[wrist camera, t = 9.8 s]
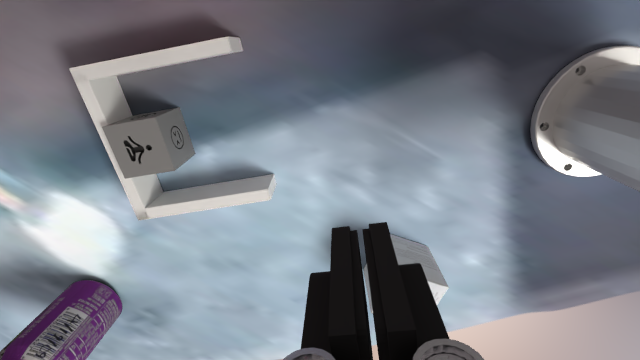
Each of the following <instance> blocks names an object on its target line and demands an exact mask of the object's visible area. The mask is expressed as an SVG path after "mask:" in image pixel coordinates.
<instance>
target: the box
mask: <svg viewBox="0 0 640 360" xmlns="http://www.w3.org/2000/svg"><path fill="white" fill-rule="evenodd" d="M242 51H243V48H242V44H241V40H240V38H239V37H228V36H227V37H222V38H217V39H212V40H207V41H202V42H197V43H192V44H188V45H183V46H178V47H173V48H168V49H163V50H158V51H153V52H148V53H143V54H138V55H133V56H128V57H123V58H118V59H113V60H108V61H103V62H98V63H93V64H88V65H83V66H78V67H73V68H69V70H70V72H71V74H72V76H73V78H74V81H75V83H76V85H77V87H78V89H79V91H80V94H81V96H82V98H83V100H84V102H85V105H86V107H87V109H88V111H89V113H90V116H91V118H92V120H93V122H94V124H95V126H96V129H97V131H98V133H99V135H100V137H101V140H102V142H103V144H104V146H105V148H106V151H107V153H108V155H109V157H110V159H111V162H112V164H113V166H114V168H115V170H116V172H117V175H118V177H119V179H120V181H121V183H122V186H123V188H124V190H125V192H126V194H127V197H128V199H129V201H130V203H131V205H132V208H133V210H134V212H135V214H136V216H137V218H138V220H145V219H151V218H158V217H164V216H171V215H177V214H183V213H190V212H196V211H203V210H209V209H216V208H222V207H229V206H235V205H242V204H248V203H254V202H261V201H267V200H271V198H272V195H273V193H274V190H275V187H276V184H277V183H276V179H275V175H274V174H270V175H264V176H258V177H252V178H245V179H239V180H233V181H227V182H221V183H215V184H208V185H202V186H196V187H190V188H184V189H177V190H171V191H165V192H163V189H162V187H161V184H160V182H159V180H158V177H157V175H156V174H151V175H145V176H139V177H132V178H126V179H125V178H124V176H123V173H122V171H121V169H120V167H119V165H118V162H117V160H116V158H115V156H114V153H113V151H112V149H111V147H110V144H109V142H108V140H107V138H106V135H105V133H104V131H103V129H102V127H103V126H106V125H109V124H111V123H114V122H117V121H120V120H122V119H125V118H128V117H131V116H133V115H132V113H131V111H130V108H129V106H128V103H127V101H126V98H125V96H124V93H123V91H122V88H121V86H120V83H119V81H118V78H117V76H120V75H125V74H130V73H135V72H140V71H145V70H151V69H156V68H161V67H166V66H171V65H176V64H181V63H186V62H191V61H196V60H202V59H207V58H212V57H217V56H222V55H227V54H232V53H237V52H242Z"/></svg>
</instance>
